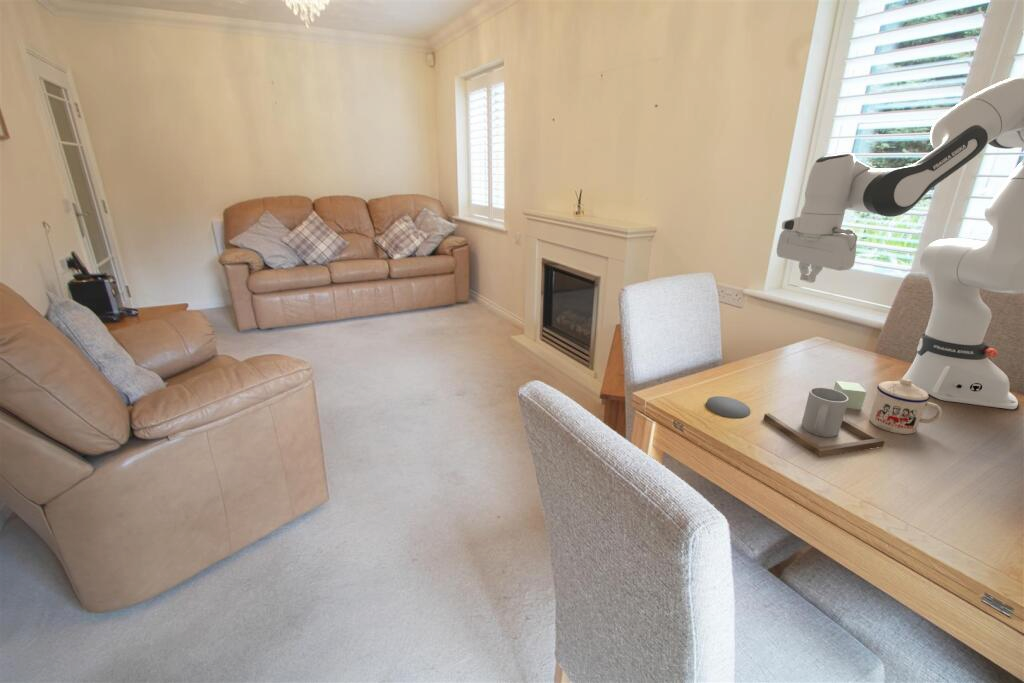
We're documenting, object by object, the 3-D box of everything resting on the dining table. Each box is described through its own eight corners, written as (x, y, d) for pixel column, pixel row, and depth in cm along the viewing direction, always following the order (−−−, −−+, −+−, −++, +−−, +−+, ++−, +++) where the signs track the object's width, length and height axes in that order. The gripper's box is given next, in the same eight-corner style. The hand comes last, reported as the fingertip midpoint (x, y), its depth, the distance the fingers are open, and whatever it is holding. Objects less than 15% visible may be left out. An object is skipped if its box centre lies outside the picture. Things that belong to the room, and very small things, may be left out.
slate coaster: (703, 396, 120) (703, 394, 120) (743, 401, 118) (744, 399, 118) (711, 415, 111) (711, 413, 111) (755, 421, 109) (755, 419, 109)
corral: (763, 419, 109) (764, 413, 109) (821, 411, 113) (822, 406, 112) (818, 457, 95) (820, 451, 94) (882, 446, 98) (884, 440, 98)
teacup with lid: (867, 427, 106) (881, 381, 101) (867, 411, 112) (880, 367, 108) (936, 444, 99) (954, 395, 95) (931, 426, 106) (948, 380, 102)
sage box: (853, 400, 118) (858, 383, 116) (861, 410, 113) (866, 391, 112) (831, 398, 119) (835, 380, 117) (837, 407, 115) (842, 389, 113)
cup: (840, 428, 105) (850, 393, 102) (834, 447, 98) (845, 410, 95) (804, 418, 110) (812, 384, 107) (796, 435, 102) (804, 400, 99)
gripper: (870, 229, 103) (854, 290, 107) (797, 220, 121) (787, 272, 126) (846, 230, 101) (832, 291, 106) (777, 221, 120) (767, 273, 125)
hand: (807, 281), depth 116 cm, fingers closed
